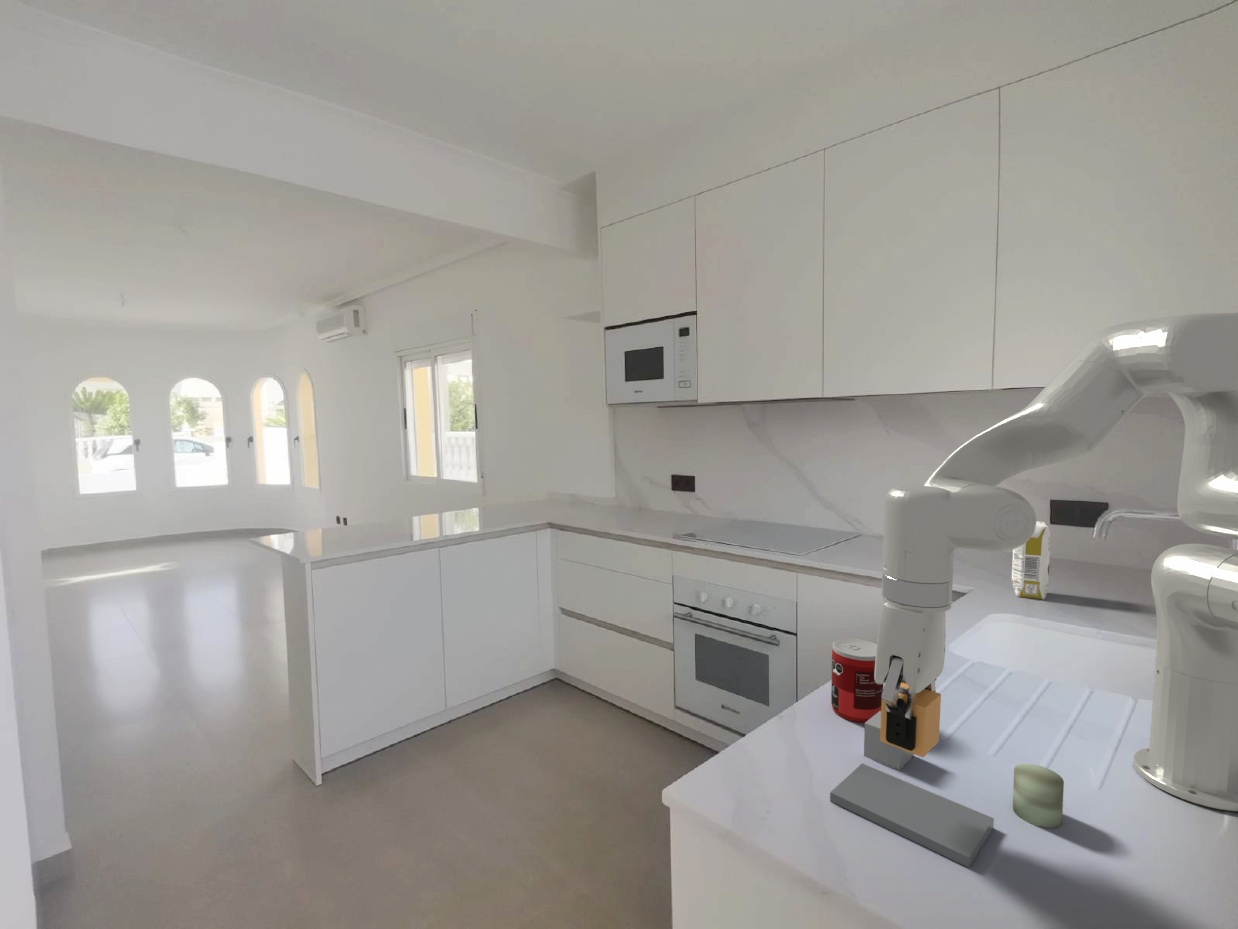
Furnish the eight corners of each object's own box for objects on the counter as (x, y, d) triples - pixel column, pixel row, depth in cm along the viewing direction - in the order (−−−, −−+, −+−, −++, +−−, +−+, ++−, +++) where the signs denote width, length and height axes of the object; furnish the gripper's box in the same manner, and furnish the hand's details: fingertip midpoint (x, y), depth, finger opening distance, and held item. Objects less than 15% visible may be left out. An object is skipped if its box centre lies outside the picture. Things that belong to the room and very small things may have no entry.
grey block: (879, 743, 92) (879, 710, 91) (913, 756, 88) (914, 723, 88) (863, 756, 88) (864, 723, 88) (899, 770, 85) (900, 736, 84)
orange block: (896, 726, 78) (898, 680, 78) (938, 741, 75) (940, 694, 74) (880, 741, 75) (881, 693, 74) (923, 757, 71) (925, 708, 71)
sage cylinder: (1016, 796, 79) (1018, 759, 78) (1064, 812, 76) (1066, 773, 75) (1009, 816, 75) (1010, 777, 75) (1059, 834, 72) (1061, 793, 71)
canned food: (840, 696, 106) (841, 634, 105) (888, 710, 101) (890, 645, 100) (823, 713, 100) (824, 648, 99) (874, 729, 95) (876, 661, 94)
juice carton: (1013, 597, 159) (1016, 524, 157) (1010, 588, 166) (1013, 519, 165) (1048, 601, 155) (1052, 527, 153) (1043, 592, 163) (1047, 521, 161)
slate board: (861, 771, 84) (861, 763, 84) (993, 827, 73) (993, 818, 73) (830, 801, 78) (830, 792, 78) (968, 868, 67) (969, 857, 67)
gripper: (911, 571, 82) (905, 702, 83) (852, 599, 70) (847, 751, 71) (974, 582, 76) (966, 723, 78) (922, 614, 64) (914, 779, 66)
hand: (909, 735), depth 75 cm, fingers closed on orange block, 5 cm apart
